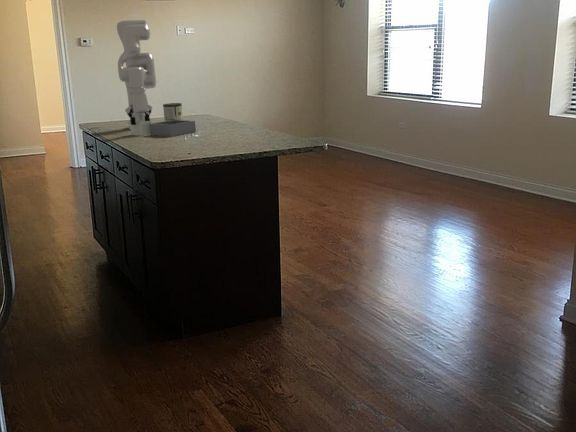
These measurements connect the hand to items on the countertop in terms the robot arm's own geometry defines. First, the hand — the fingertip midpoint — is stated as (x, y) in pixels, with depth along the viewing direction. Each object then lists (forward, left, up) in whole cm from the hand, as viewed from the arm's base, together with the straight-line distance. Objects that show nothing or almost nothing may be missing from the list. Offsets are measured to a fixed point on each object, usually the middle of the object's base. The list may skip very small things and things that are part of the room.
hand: (140, 123), depth 339 cm
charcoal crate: (+14, +10, -6) cm, 18 cm away
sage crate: (-1, +1, -6) cm, 6 cm away
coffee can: (0, +24, -6) cm, 24 cm away
